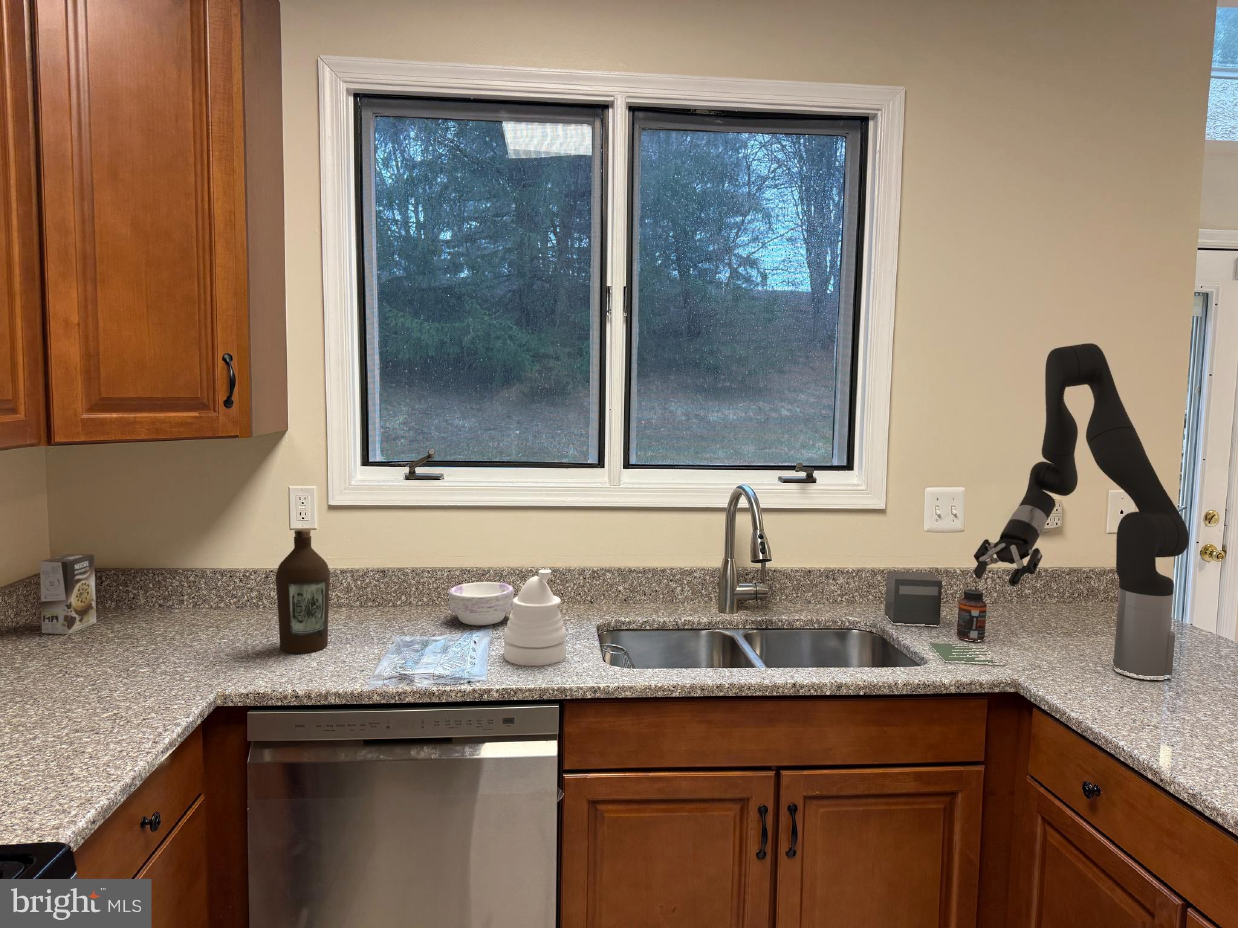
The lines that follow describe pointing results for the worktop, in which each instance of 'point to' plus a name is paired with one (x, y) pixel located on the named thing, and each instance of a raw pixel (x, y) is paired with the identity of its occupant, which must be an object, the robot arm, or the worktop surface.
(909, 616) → the charcoal unit
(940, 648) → the sage mat
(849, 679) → the worktop surface
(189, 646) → the worktop surface
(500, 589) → the white and purple bowl
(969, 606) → the supplement bottle
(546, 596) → the honey pot
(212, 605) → the worktop surface
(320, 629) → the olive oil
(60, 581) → the coffee box
